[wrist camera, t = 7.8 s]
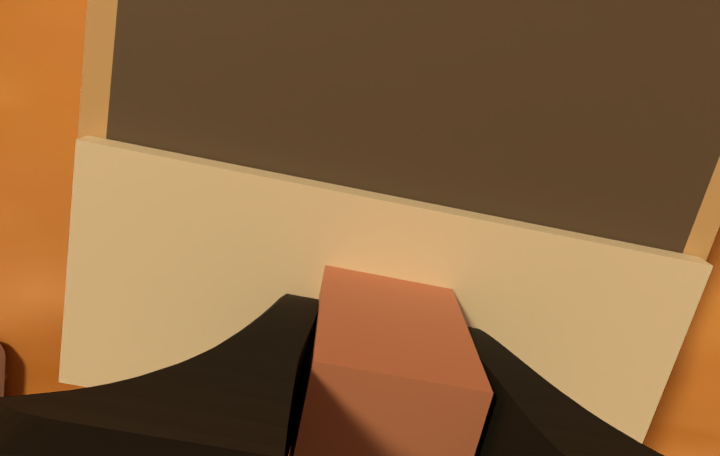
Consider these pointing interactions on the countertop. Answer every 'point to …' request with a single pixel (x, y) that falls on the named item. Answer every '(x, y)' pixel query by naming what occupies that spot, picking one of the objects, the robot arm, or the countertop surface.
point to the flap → (361, 297)
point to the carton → (434, 102)
